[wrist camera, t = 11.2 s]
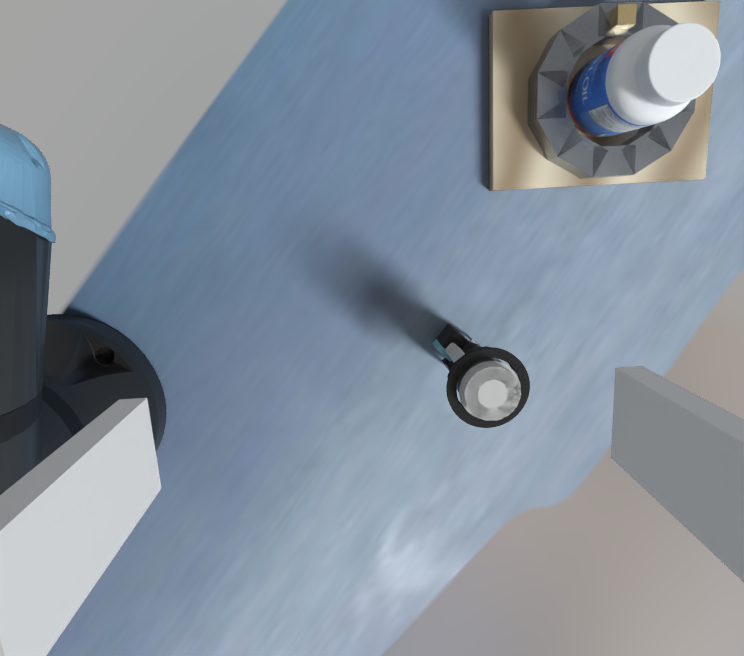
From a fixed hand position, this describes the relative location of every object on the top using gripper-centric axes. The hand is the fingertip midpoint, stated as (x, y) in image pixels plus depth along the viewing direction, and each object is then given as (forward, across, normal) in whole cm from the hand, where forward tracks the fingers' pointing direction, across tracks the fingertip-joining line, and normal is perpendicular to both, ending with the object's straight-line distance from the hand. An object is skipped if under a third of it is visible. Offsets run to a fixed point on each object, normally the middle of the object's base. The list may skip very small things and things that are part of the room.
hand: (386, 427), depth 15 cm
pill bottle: (+26, +18, +13) cm, 34 cm away
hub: (+27, +18, +13) cm, 35 cm away
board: (+27, +18, +13) cm, 35 cm away
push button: (+27, +8, -6) cm, 29 cm away
